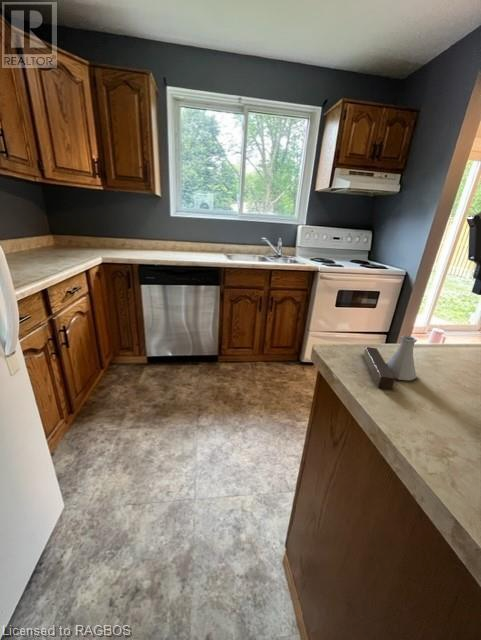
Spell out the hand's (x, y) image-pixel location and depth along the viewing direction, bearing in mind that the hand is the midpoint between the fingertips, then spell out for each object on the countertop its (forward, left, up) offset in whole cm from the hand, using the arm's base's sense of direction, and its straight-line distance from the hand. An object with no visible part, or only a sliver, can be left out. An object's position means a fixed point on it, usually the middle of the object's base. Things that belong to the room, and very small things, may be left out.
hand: (478, 293), depth 62 cm
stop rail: (+18, +3, -22) cm, 29 cm away
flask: (+13, +3, -22) cm, 26 cm away
